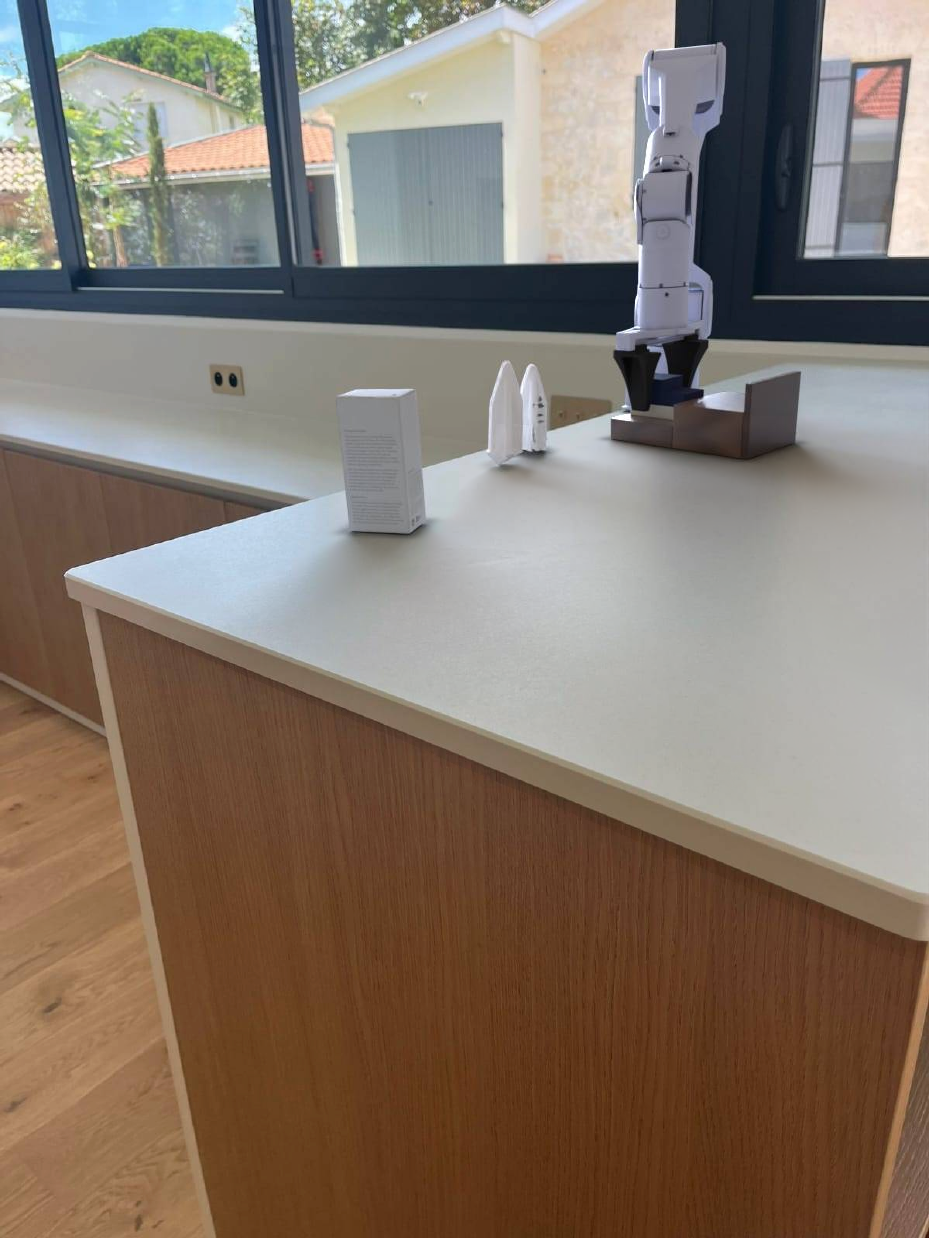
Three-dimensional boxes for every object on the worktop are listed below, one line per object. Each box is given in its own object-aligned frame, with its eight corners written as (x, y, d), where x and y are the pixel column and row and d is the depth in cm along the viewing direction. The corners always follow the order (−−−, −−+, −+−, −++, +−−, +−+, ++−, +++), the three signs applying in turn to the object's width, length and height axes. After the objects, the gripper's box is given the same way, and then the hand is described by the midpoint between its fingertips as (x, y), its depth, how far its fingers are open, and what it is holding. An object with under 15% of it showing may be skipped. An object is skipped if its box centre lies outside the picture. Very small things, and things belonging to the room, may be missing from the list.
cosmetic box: (427, 521, 86) (418, 388, 82) (409, 535, 83) (399, 396, 78) (367, 518, 88) (354, 388, 84) (347, 531, 85) (333, 396, 80)
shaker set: (512, 472, 102) (509, 367, 98) (477, 469, 104) (473, 366, 99) (555, 448, 112) (554, 351, 107) (522, 446, 113) (520, 351, 109)
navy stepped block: (629, 414, 115) (630, 377, 114) (649, 409, 118) (650, 372, 116) (684, 421, 110) (686, 382, 108) (704, 416, 112) (706, 377, 111)
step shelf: (610, 438, 115) (611, 371, 112) (660, 425, 121) (662, 360, 118) (747, 459, 102) (752, 384, 99) (795, 443, 108) (801, 371, 105)
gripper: (653, 292, 102) (649, 418, 107) (729, 282, 111) (722, 399, 116) (602, 291, 107) (601, 412, 112) (678, 281, 115) (674, 394, 121)
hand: (659, 405), depth 114 cm, fingers open, 7 cm apart
